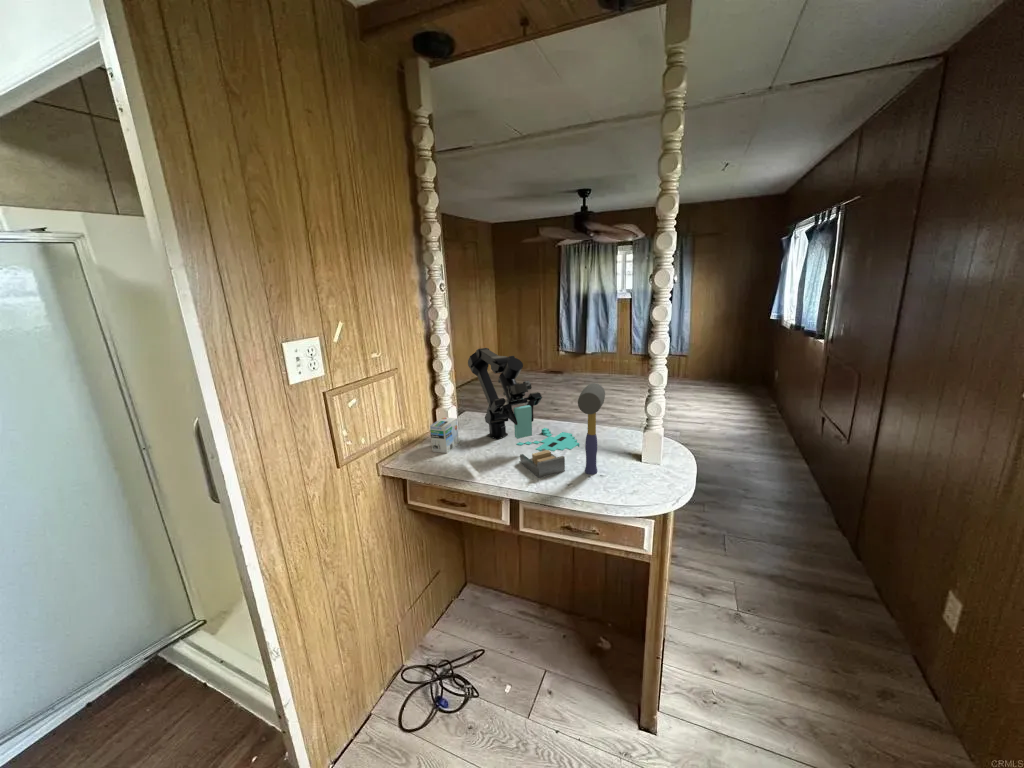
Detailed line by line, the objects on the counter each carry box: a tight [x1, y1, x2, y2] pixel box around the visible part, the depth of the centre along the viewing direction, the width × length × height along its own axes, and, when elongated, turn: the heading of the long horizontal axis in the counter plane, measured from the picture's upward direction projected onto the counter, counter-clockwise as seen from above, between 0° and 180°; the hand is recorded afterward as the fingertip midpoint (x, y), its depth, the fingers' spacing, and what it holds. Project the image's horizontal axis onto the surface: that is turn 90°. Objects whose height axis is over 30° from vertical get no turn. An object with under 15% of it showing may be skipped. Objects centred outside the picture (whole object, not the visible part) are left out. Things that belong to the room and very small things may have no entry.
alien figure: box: [515, 427, 580, 452], centre depth 153 cm, size 20×2×20 cm
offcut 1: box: [531, 450, 552, 465], centre depth 131 cm, size 2×6×5 cm, turn 116°
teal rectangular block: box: [513, 405, 533, 440], centre depth 140 cm, size 2×6×11 cm, turn 116°
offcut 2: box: [537, 455, 555, 462], centre depth 129 cm, size 2×6×4 cm, turn 116°
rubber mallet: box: [577, 382, 606, 476], centre depth 124 cm, size 12×8×30 cm, turn 160°
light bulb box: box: [429, 416, 460, 454], centre depth 153 cm, size 11×7×11 cm, turn 161°
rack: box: [518, 449, 566, 479], centre depth 132 cm, size 14×10×6 cm
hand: (524, 422), depth 139 cm, fingers closed on teal rectangular block, 6 cm apart
